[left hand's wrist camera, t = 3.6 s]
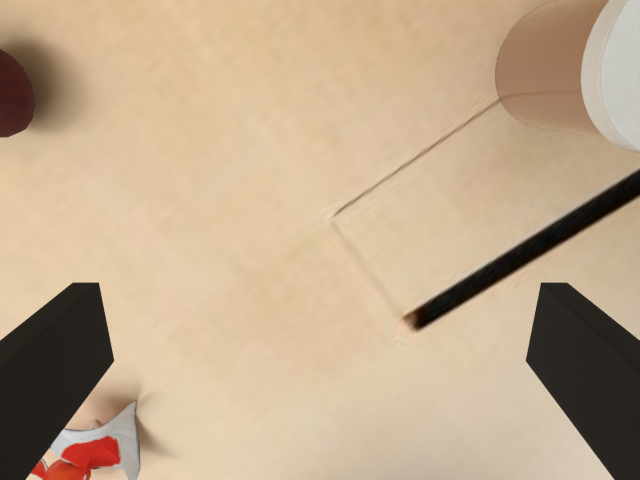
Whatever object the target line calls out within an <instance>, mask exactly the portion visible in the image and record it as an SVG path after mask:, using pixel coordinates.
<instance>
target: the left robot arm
mask: <svg viewBox="0 0 640 480" xmlns="http://www.w3.org/2000/svg"><path fill="white" fill-rule="evenodd" d="M113 362H114V357H113V352H112V347H111V342H110V337H109V332H108V327H107V322H106V317H105V312H104V307H103V302H102V296H101V291H100V286H99V283H72V284H71V285H69V286H68V287H67V288H66V289H64V290H63V291H62V292H61V293H59V294H58V295H57V296H56V297H54V298H53V299H52V300H51V301H49V302H48V303H47V304H46V305H44V306H43V307H42V308H41V309H39V310H38V311H37V312H36V313H34V314H33V315H32V316H31V317H29V318H28V319H27V320H26V321H24V322H23V323H22V324H21V325H19V326H18V327H17V328H16V329H14V330H13V331H12V332H11V333H9V334H8V335H7V336H5V337H4V338H3V339H2V340H0V480H26V478H27V477H28V476H29V474H30V473H31V472H32V470H33V469H34V468H35V466H36V465H37V464H38V462H39V461H40V460H41V458H42V457H43V456H44V454H45V453H46V452H47V450H48V449H49V448H50V446H51V445H52V444H53V442H54V441H55V439H56V438H57V437H58V435H59V434H60V433H61V431H62V430H63V429H64V427H65V426H66V425H67V423H68V422H69V421H70V419H71V418H72V417H73V415H74V414H75V413H76V411H77V410H78V409H79V407H80V406H81V405H82V403H83V402H84V401H85V399H86V398H87V397H88V395H89V394H90V393H91V391H92V390H93V389H94V387H95V386H96V385H97V383H98V382H99V381H100V379H101V378H102V377H103V375H104V374H105V373H106V371H107V370H108V369H109V367H110V366H111V365H112V363H113ZM526 362H527V363H528V365H529V366H530V367H531V369H532V370H533V371H534V373H535V374H536V375H537V377H538V378H539V379H540V381H541V382H542V383H543V385H544V386H545V387H546V389H547V390H548V391H549V393H550V394H551V395H552V397H553V398H554V399H555V401H556V402H557V403H558V405H559V406H560V407H561V409H562V410H563V411H564V413H565V414H566V415H567V417H568V418H569V419H570V421H571V422H572V423H573V425H574V426H575V427H576V429H577V430H578V431H579V433H580V434H581V435H582V437H583V438H584V439H585V441H586V442H587V444H588V445H589V446H590V448H591V449H592V450H593V452H594V453H595V454H596V456H597V457H598V458H599V460H600V461H601V462H602V464H603V465H604V466H605V468H606V469H607V470H608V472H609V473H610V474H611V476H612V477H613V478H614V480H640V340H638V339H637V338H636V337H635V336H633V335H632V334H631V333H629V332H628V331H627V330H626V329H624V328H623V327H622V326H621V325H619V324H618V323H617V322H616V321H614V320H613V319H612V318H611V317H609V316H608V315H607V314H606V313H604V312H603V311H602V310H601V309H599V308H598V307H597V306H596V305H594V304H593V303H592V302H591V301H589V300H588V299H587V298H586V297H584V296H583V295H582V294H581V293H579V292H578V291H577V290H576V289H574V288H573V287H572V286H571V285H569V284H568V283H541V286H540V291H539V296H538V302H537V307H536V312H535V317H534V322H533V327H532V332H531V337H530V342H529V347H528V352H527V357H526Z"/></svg>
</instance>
